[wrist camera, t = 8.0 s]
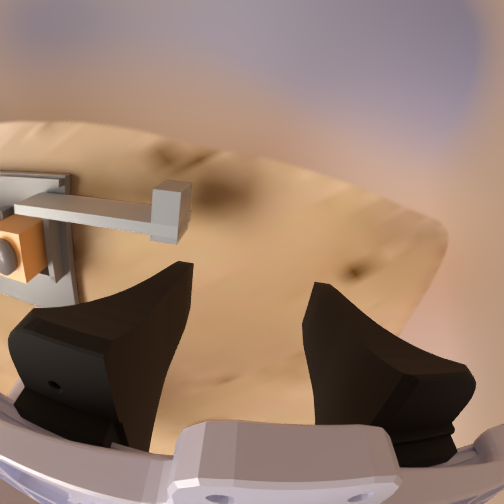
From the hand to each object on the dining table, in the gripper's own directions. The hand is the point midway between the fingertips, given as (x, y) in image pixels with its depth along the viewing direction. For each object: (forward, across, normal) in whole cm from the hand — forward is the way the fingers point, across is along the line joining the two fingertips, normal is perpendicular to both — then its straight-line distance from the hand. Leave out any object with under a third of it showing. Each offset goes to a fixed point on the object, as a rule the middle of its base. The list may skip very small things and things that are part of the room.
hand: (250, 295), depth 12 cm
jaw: (+9, +18, +4) cm, 21 cm away
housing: (+10, +22, +5) cm, 24 cm away
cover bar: (+9, +11, -1) cm, 14 cm away
